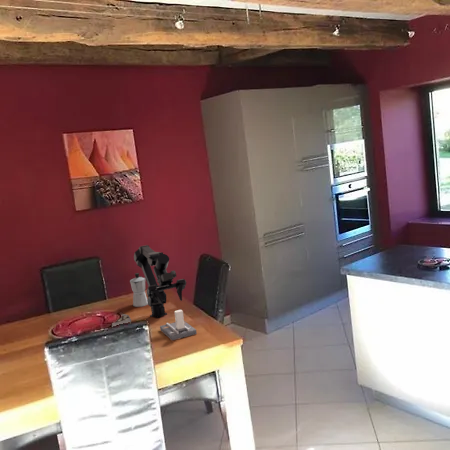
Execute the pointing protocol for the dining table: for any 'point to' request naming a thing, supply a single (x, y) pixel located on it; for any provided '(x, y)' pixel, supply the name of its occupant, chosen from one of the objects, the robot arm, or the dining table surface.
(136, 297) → the coffee maker
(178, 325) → the fader
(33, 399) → the dining table surface
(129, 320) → the food container
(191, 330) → the grey slider track base
